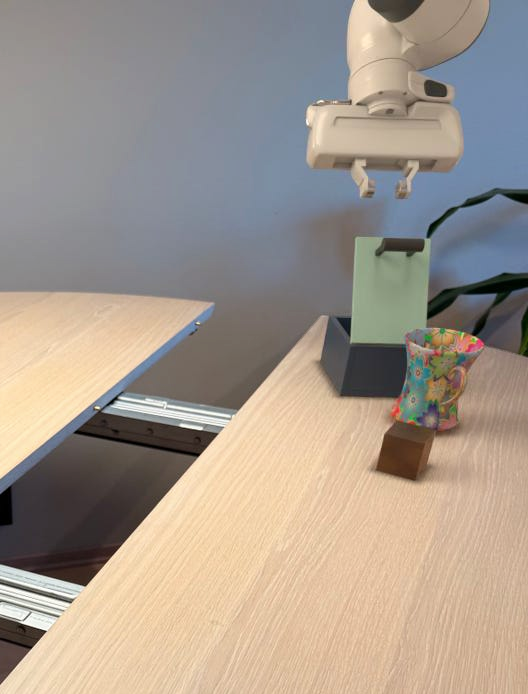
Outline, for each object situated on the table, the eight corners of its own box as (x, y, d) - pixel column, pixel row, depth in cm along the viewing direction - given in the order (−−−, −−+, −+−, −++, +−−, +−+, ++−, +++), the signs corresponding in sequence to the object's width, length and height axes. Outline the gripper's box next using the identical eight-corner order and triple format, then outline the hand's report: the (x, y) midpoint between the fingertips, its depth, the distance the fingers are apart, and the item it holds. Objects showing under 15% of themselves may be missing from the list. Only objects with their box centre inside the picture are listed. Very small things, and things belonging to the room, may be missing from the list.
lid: (355, 238, 127) (367, 225, 122) (428, 240, 127) (444, 227, 122) (350, 343, 128) (362, 335, 123) (423, 345, 128) (438, 336, 123)
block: (426, 466, 115) (436, 429, 112) (414, 480, 112) (424, 443, 109) (387, 456, 117) (396, 420, 114) (375, 470, 114) (384, 433, 111)
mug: (374, 407, 129) (393, 327, 123) (442, 407, 130) (464, 327, 124) (410, 447, 119) (432, 362, 113) (483, 445, 120) (509, 361, 114)
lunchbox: (319, 362, 142) (328, 315, 138) (385, 363, 142) (396, 317, 138) (340, 395, 132) (350, 346, 128) (411, 397, 132) (423, 348, 128)
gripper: (311, 83, 129) (313, 179, 127) (466, 87, 129) (471, 183, 127) (299, 115, 135) (300, 207, 133) (447, 119, 135) (451, 211, 133)
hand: (385, 195), depth 130 cm, fingers open, 3 cm apart
